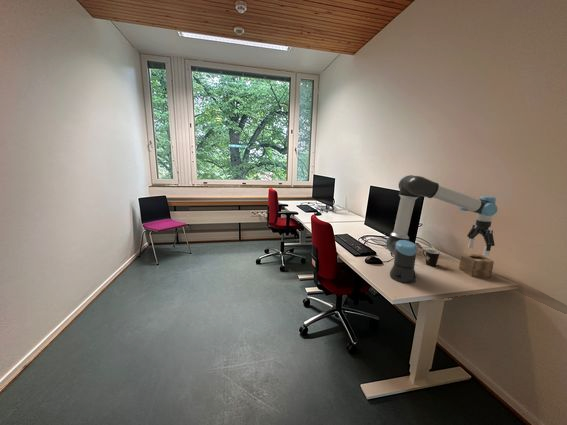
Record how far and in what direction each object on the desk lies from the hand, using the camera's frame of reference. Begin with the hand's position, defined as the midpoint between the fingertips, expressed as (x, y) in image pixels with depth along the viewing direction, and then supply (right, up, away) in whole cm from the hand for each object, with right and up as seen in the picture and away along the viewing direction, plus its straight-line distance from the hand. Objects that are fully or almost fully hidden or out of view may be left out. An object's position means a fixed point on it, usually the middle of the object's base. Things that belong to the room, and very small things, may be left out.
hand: (477, 251), depth 154 cm
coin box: (0, -15, +3) cm, 15 cm away
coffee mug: (-21, -12, +17) cm, 30 cm away
